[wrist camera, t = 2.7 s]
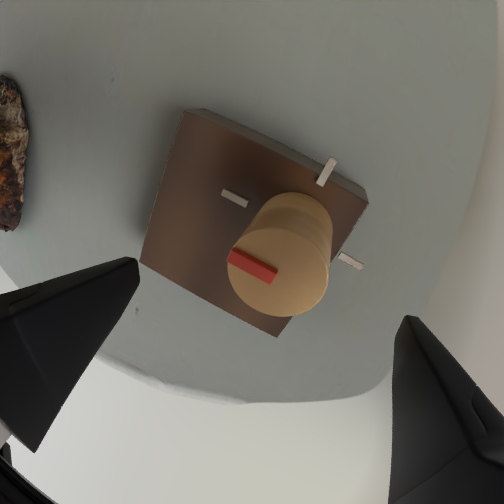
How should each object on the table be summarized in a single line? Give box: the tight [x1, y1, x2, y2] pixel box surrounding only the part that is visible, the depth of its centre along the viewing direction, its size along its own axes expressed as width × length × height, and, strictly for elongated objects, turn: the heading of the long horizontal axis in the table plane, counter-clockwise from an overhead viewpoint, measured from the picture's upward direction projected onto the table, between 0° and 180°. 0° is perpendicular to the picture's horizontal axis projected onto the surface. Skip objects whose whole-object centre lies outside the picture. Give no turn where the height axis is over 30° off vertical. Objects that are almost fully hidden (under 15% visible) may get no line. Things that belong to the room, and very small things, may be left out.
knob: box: [226, 192, 333, 317], centre depth 13 cm, size 4×4×5 cm
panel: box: [139, 109, 369, 338], centre depth 17 cm, size 12×11×3 cm
